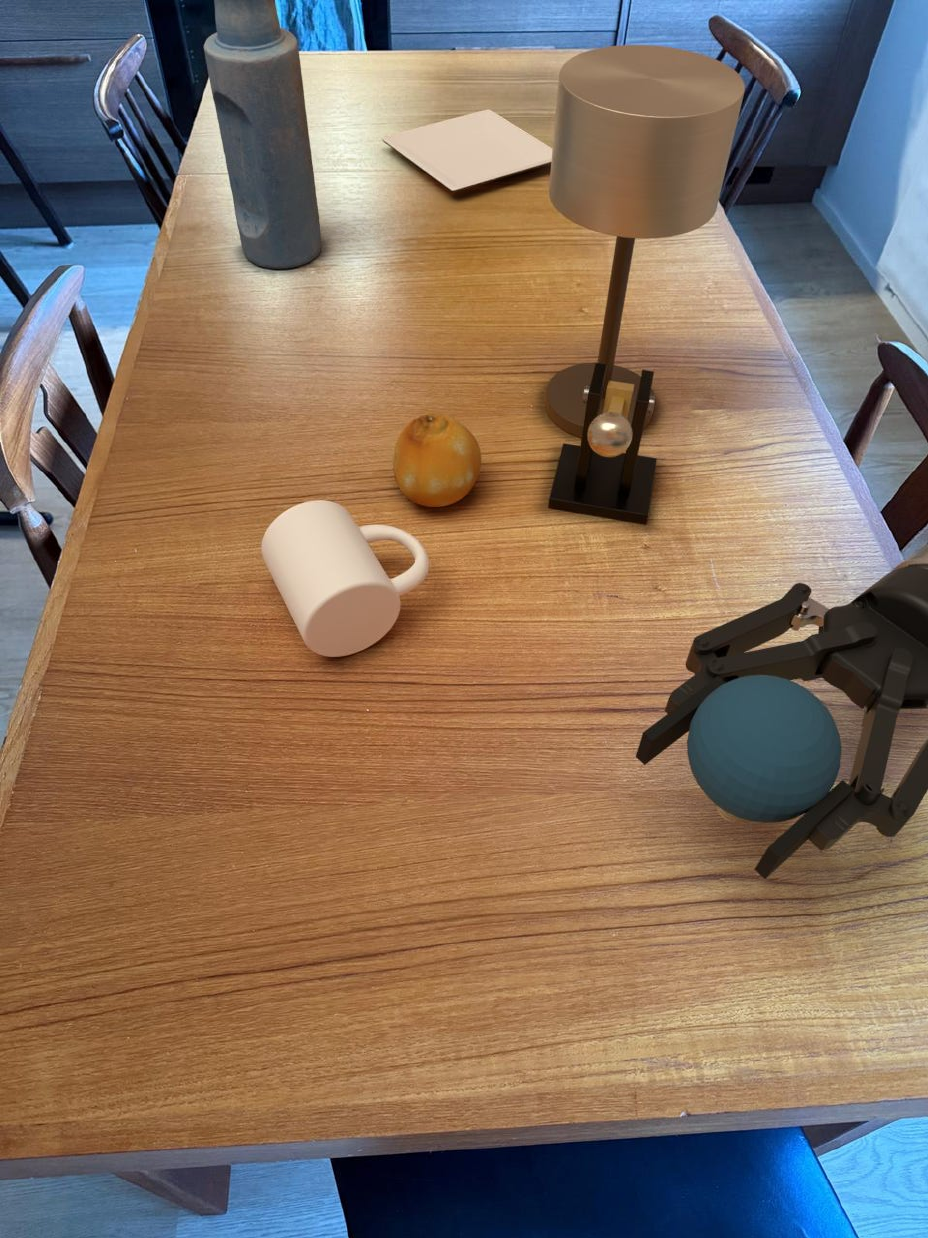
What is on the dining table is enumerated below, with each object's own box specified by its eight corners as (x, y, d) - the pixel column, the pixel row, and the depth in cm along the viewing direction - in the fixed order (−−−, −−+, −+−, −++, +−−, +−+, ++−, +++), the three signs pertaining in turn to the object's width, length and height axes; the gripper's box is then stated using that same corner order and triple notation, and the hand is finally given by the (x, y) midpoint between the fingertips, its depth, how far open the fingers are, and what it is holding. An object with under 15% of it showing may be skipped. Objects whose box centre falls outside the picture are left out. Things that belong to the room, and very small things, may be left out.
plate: (452, 204, 118) (452, 188, 117) (381, 151, 128) (380, 135, 126) (564, 170, 125) (566, 155, 123) (488, 122, 135) (489, 107, 133)
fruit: (369, 447, 83) (390, 410, 76) (447, 427, 86) (474, 390, 79) (400, 528, 83) (424, 499, 75) (477, 506, 86) (508, 475, 78)
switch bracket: (646, 524, 81) (671, 419, 72) (547, 507, 82) (560, 402, 73) (654, 467, 86) (679, 362, 77) (561, 452, 87) (575, 346, 78)
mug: (310, 671, 70) (297, 605, 64) (268, 585, 75) (252, 517, 69) (448, 619, 73) (448, 552, 67) (398, 540, 79) (394, 471, 73)
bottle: (338, 250, 110) (310, -43, 87) (274, 280, 106) (226, -21, 83) (289, 222, 114) (250, -65, 91) (226, 250, 110) (167, -45, 87)
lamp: (661, 461, 86) (741, 126, 63) (518, 438, 88) (544, 104, 64) (673, 376, 95) (748, 54, 71) (543, 357, 97) (574, 36, 73)
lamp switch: (626, 465, 64) (635, 421, 62) (582, 458, 64) (589, 413, 63) (634, 417, 78) (641, 380, 76) (597, 411, 78) (604, 374, 77)
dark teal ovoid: (639, 778, 59) (676, 669, 49) (749, 740, 61) (803, 628, 51) (706, 894, 54) (760, 797, 44) (822, 848, 56) (898, 746, 47)
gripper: (1052, 751, 57) (836, 977, 48) (786, 560, 68) (566, 716, 58) (1120, 682, 51) (890, 924, 42) (818, 485, 62) (580, 645, 53)
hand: (702, 803), depth 50 cm, fingers closed on dark teal ovoid, 8 cm apart
